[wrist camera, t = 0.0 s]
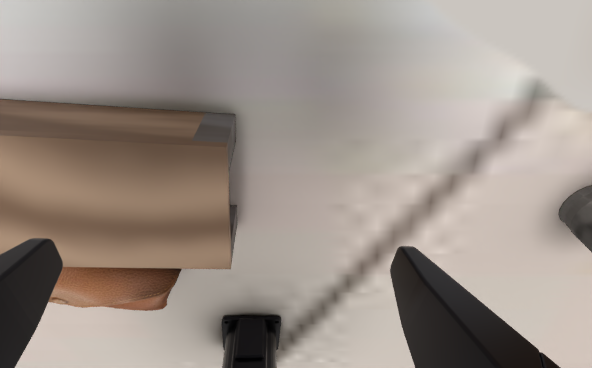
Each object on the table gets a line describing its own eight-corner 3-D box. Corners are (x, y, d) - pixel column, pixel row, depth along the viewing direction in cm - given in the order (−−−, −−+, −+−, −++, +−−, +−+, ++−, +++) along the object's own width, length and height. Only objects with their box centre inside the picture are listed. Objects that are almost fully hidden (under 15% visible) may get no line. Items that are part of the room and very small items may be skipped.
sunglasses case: (-34, 275, 28) (-108, 310, 22) (-11, 202, 28) (-78, 214, 22) (169, 310, 33) (158, 347, 26) (189, 247, 33) (183, 269, 26)
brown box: (237, 224, 27) (230, 269, 23) (-144, 213, 24) (-232, 263, 20) (235, 114, 21) (226, 147, 17) (-261, 82, 18) (-418, 112, 14)
